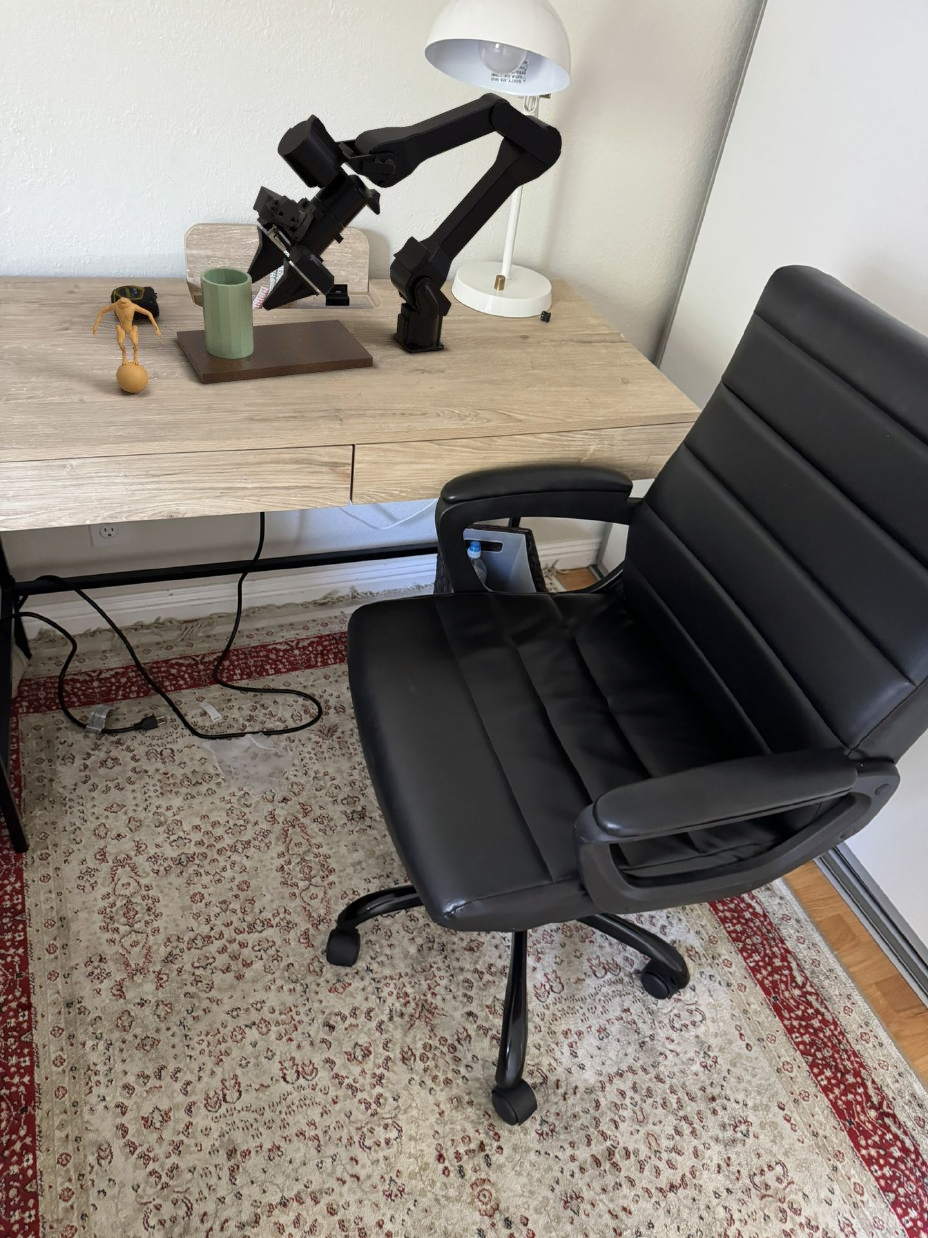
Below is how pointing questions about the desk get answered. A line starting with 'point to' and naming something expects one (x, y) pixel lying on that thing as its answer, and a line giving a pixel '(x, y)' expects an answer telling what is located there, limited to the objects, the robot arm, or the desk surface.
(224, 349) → the pencil cup
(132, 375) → the figurine
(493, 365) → the desk surface
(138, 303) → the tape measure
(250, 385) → the desk surface
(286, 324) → the walnut board
